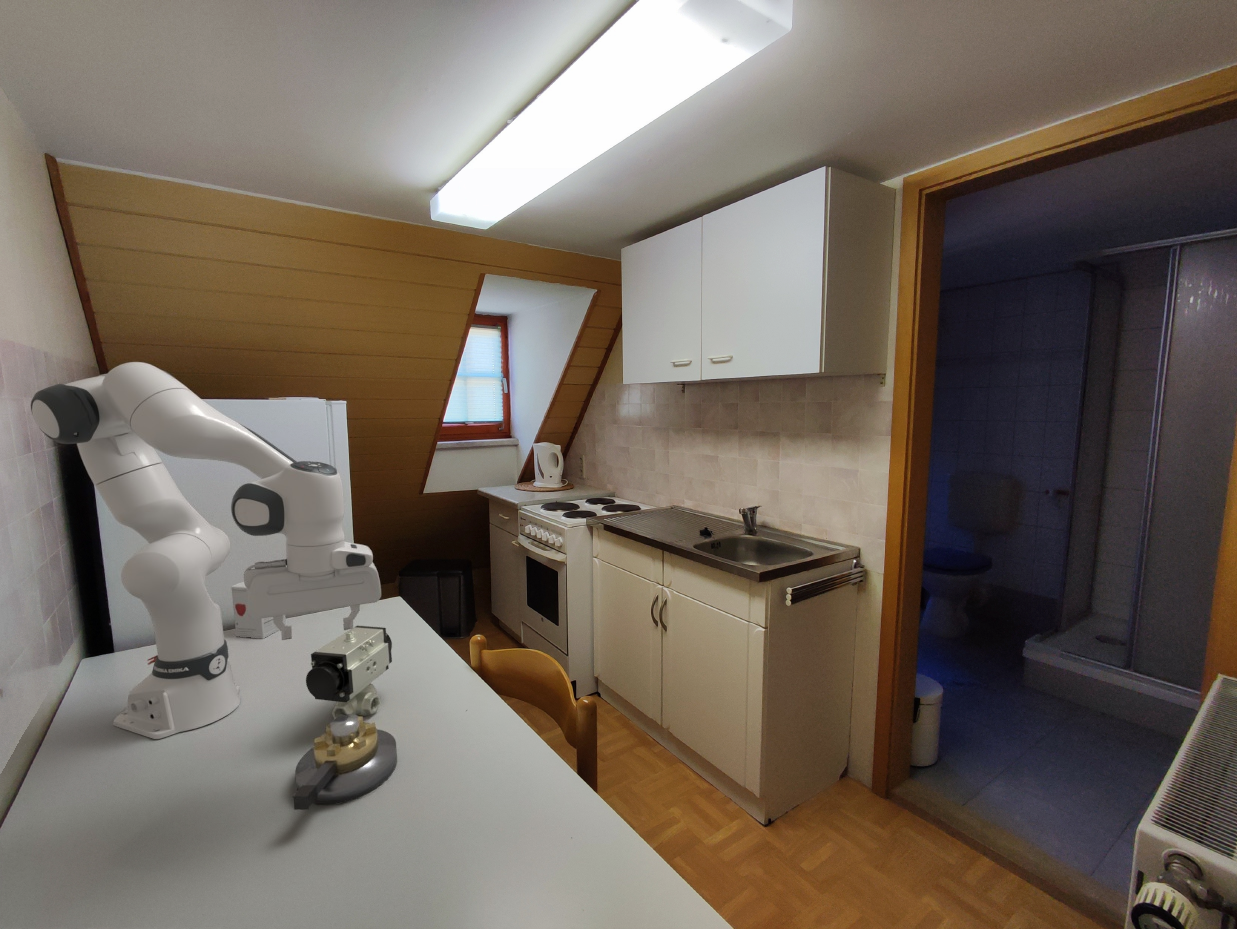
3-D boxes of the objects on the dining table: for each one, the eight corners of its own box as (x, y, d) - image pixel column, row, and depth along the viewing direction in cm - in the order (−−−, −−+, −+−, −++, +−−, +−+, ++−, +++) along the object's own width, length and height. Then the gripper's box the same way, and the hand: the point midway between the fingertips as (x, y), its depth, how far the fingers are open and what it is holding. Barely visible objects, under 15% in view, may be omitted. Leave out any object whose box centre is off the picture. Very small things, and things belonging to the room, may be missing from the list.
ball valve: (347, 741, 106) (340, 654, 104) (309, 736, 108) (301, 650, 105) (401, 691, 123) (396, 616, 121) (368, 688, 125) (362, 614, 123)
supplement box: (234, 637, 154) (229, 586, 152) (260, 624, 162) (255, 575, 160) (263, 639, 152) (258, 587, 150) (287, 626, 161) (283, 576, 159)
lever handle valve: (334, 736, 102) (332, 715, 101) (387, 736, 102) (386, 715, 101) (269, 811, 84) (266, 786, 83) (333, 812, 83) (331, 786, 83)
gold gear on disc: (273, 799, 91) (268, 745, 90) (338, 739, 106) (334, 693, 105) (361, 810, 88) (356, 754, 87) (414, 747, 104) (411, 699, 102)
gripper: (241, 568, 86) (245, 652, 88) (382, 554, 97) (382, 629, 98) (244, 558, 92) (248, 637, 93) (377, 546, 102) (378, 617, 104)
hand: (318, 633), depth 96 cm, fingers open, 8 cm apart
